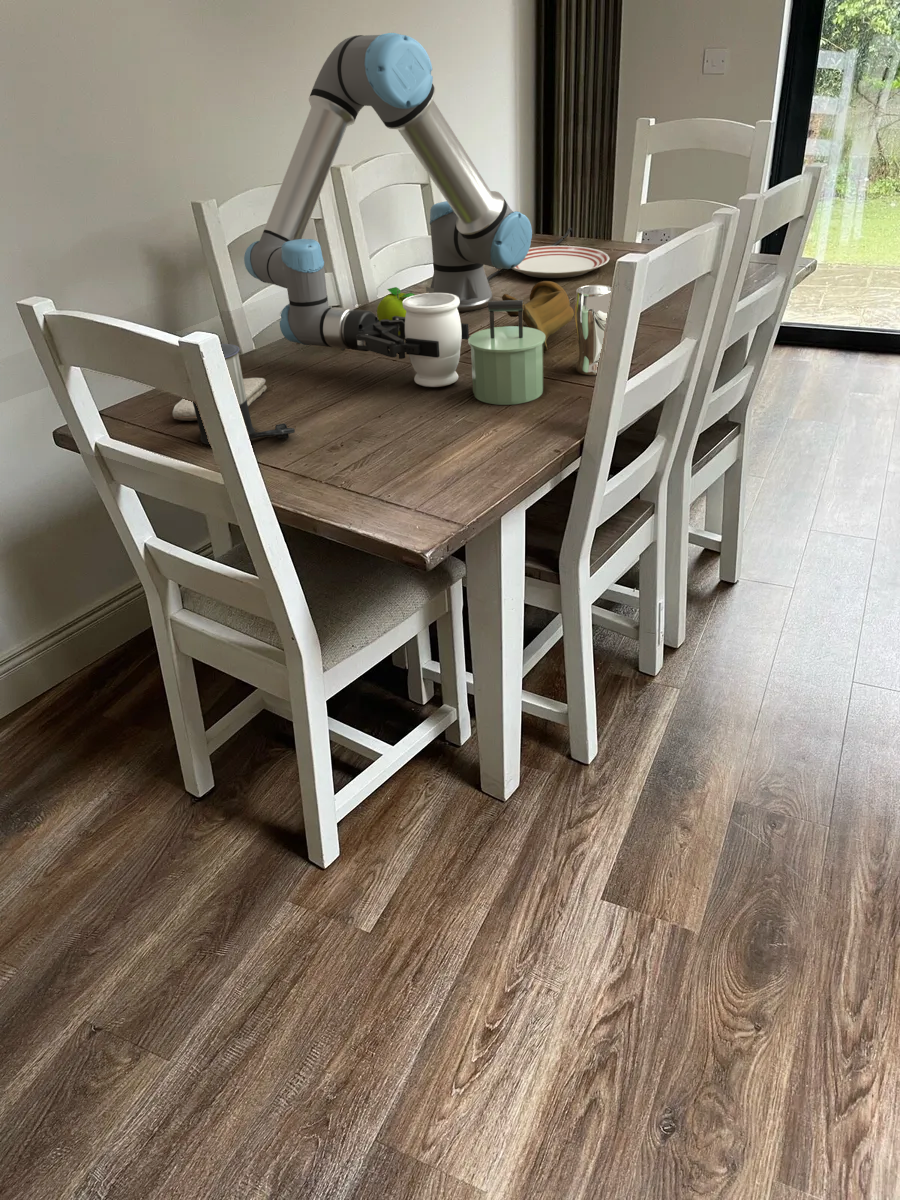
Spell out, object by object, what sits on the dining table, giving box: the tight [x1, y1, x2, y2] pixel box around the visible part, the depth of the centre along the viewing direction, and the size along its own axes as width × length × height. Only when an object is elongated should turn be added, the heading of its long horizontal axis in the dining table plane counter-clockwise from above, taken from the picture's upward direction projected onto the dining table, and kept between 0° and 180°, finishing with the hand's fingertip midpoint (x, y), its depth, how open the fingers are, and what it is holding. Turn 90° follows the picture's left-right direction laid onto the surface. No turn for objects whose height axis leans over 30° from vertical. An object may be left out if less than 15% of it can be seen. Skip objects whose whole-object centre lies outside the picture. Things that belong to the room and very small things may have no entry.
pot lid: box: [467, 299, 546, 353], centre depth 161 cm, size 14×14×8 cm
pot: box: [470, 344, 545, 406], centre depth 166 cm, size 13×13×10 cm
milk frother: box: [192, 343, 296, 446], centre depth 153 cm, size 14×16×15 cm
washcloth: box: [172, 377, 268, 422], centre depth 171 cm, size 12×18×3 cm, turn 170°
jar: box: [403, 292, 463, 388], centre depth 170 cm, size 11×10×15 cm
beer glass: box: [574, 284, 613, 376], centre depth 171 cm, size 7×7×15 cm
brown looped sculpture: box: [501, 280, 575, 354], centre depth 189 cm, size 18×13×22 cm
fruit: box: [376, 286, 415, 335], centre depth 198 cm, size 9×9×10 cm
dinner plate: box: [510, 245, 610, 279], centre depth 242 cm, size 27×27×3 cm
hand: (453, 340), depth 168 cm, fingers closed on jar, 10 cm apart
